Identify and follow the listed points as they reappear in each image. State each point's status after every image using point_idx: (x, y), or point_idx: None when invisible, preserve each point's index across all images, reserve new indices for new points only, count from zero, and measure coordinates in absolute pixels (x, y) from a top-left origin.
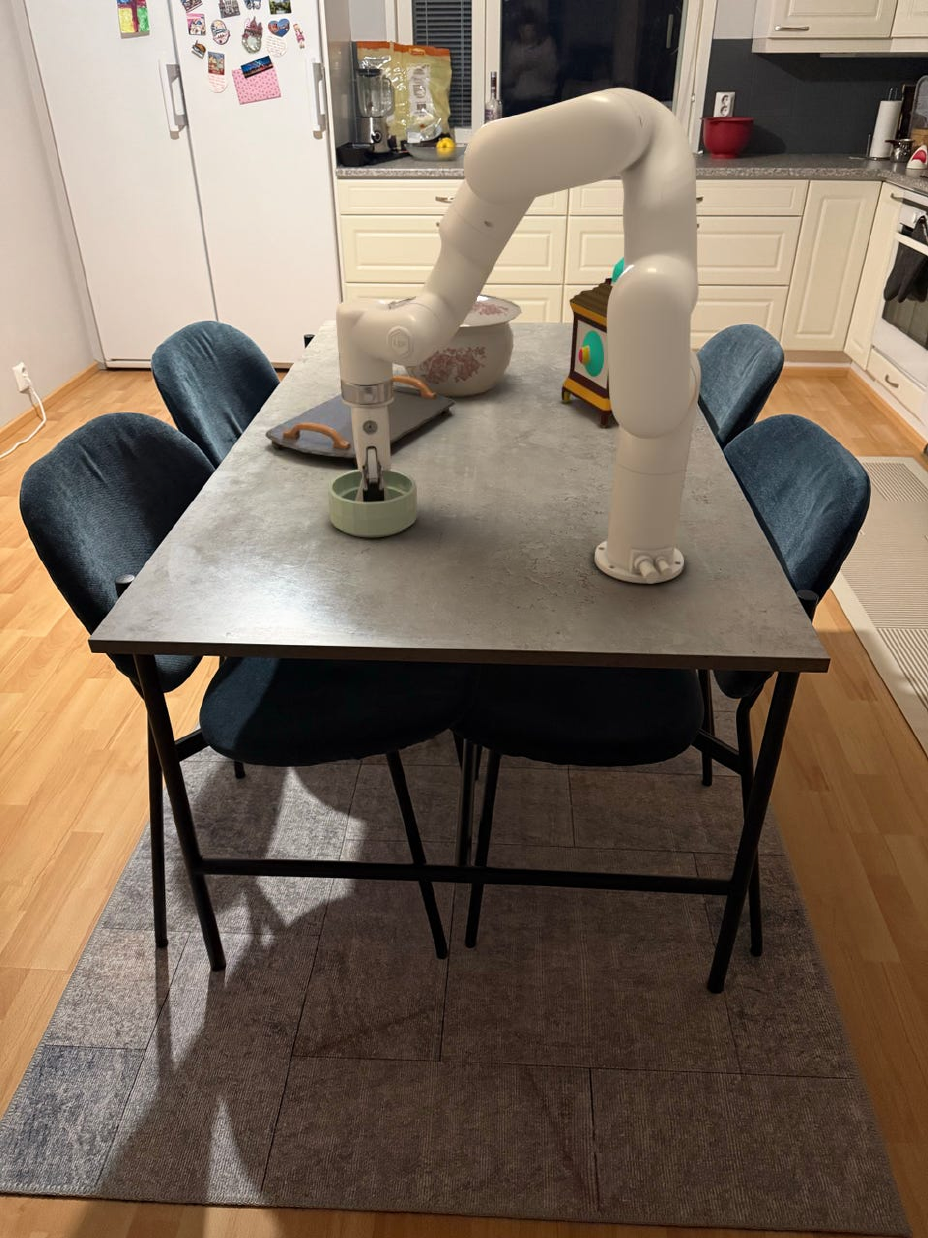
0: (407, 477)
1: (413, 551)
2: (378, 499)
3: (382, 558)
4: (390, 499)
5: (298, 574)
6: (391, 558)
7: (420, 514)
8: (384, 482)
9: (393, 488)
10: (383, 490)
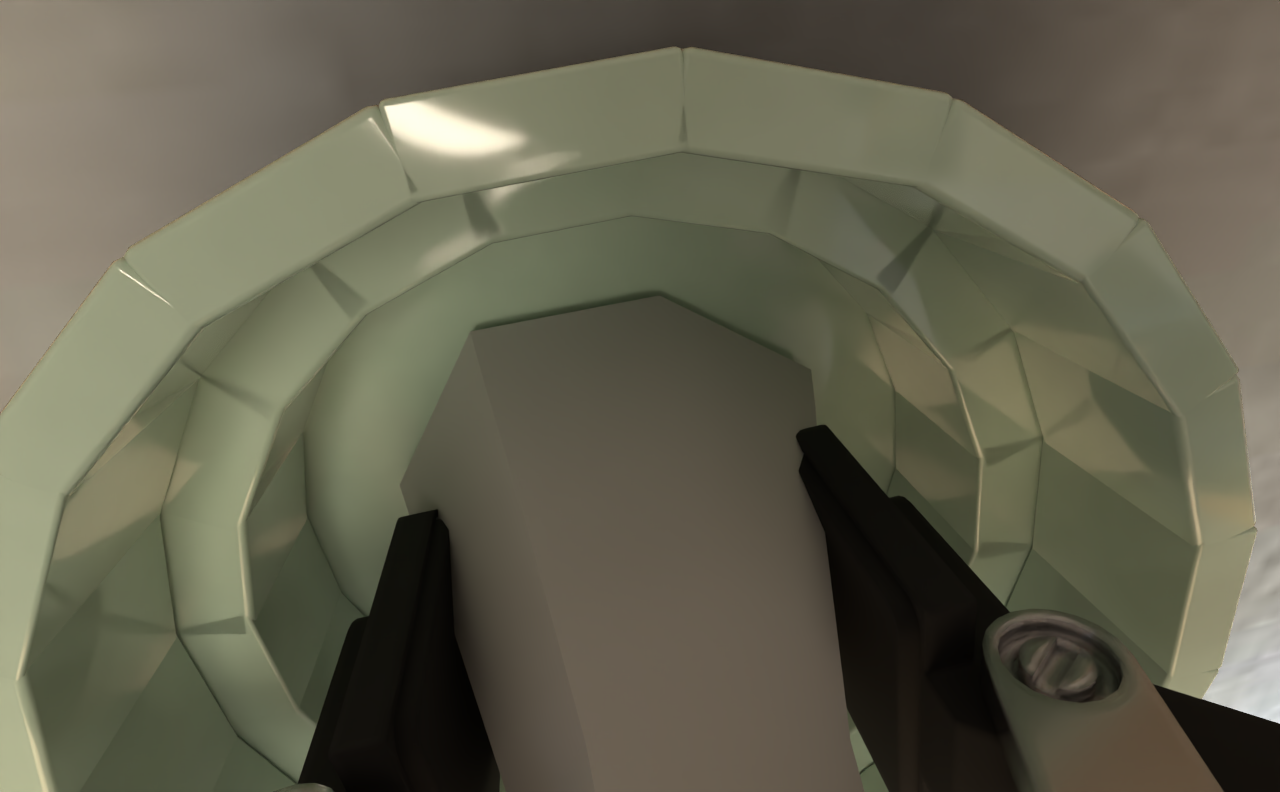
0: (259, 294)
1: (1203, 54)
2: (962, 570)
3: (1235, 301)
4: (628, 422)
5: (1256, 697)
6: (1257, 234)
7: (421, 39)
8: (568, 624)
9: (246, 439)
10: (959, 590)
